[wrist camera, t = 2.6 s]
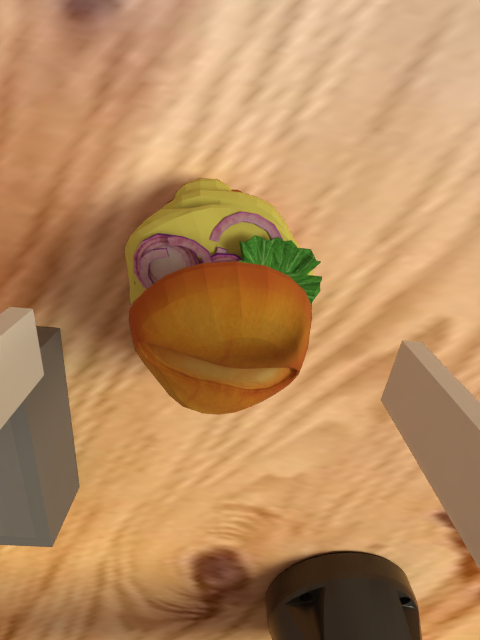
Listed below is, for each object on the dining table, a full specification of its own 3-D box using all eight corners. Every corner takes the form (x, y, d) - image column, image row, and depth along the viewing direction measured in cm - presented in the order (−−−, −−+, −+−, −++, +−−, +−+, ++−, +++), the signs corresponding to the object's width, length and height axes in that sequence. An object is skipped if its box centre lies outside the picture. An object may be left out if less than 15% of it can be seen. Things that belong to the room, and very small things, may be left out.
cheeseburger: (295, 154, 19) (357, 239, 11) (301, 308, 26) (343, 427, 18) (112, 186, 19) (50, 290, 12) (166, 330, 26) (150, 455, 18)
